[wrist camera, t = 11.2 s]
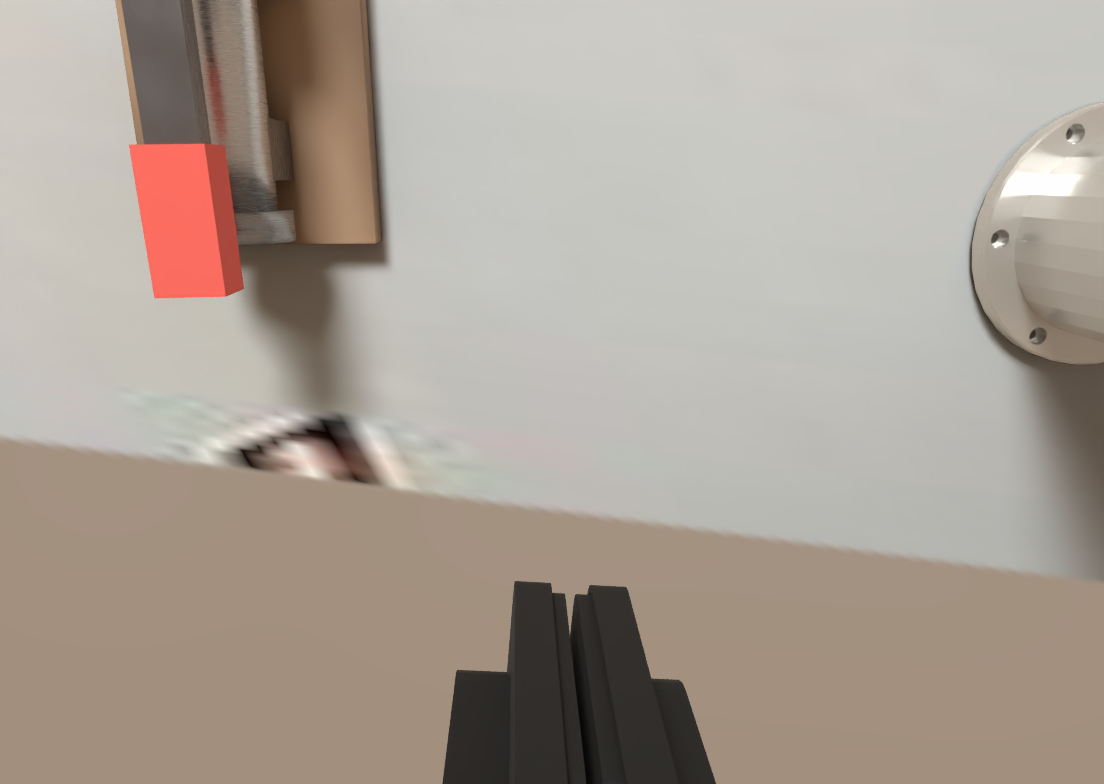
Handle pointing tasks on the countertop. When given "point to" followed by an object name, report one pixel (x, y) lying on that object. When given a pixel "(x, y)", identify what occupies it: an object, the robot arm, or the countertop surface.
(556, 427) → the countertop surface
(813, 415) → the countertop surface
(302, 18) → the valve board
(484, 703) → the robot arm
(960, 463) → the countertop surface
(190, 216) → the valve lever
